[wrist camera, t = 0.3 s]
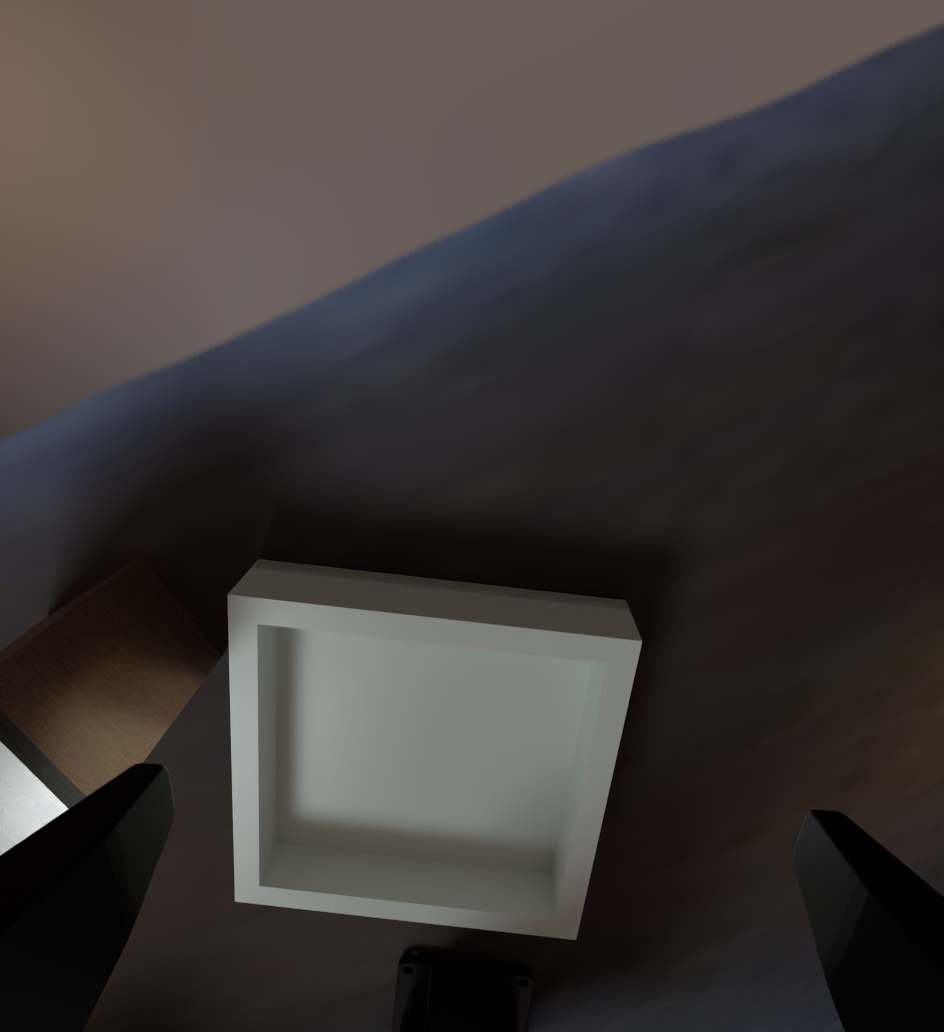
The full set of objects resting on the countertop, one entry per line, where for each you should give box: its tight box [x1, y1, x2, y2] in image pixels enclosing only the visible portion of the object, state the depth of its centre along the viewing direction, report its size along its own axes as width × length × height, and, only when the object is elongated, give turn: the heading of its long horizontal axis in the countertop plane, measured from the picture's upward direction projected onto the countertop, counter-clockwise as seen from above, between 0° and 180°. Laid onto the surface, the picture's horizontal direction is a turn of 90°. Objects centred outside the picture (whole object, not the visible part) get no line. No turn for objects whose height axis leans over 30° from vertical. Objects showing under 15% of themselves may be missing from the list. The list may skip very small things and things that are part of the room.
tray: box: [228, 559, 642, 940], centre depth 26 cm, size 14×14×3 cm
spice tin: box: [0, 557, 223, 855], centre depth 22 cm, size 5×5×9 cm
